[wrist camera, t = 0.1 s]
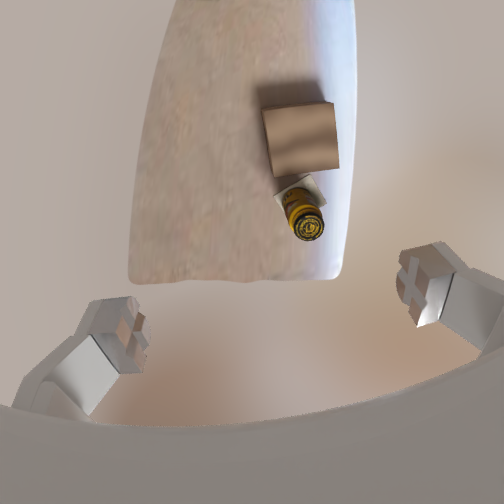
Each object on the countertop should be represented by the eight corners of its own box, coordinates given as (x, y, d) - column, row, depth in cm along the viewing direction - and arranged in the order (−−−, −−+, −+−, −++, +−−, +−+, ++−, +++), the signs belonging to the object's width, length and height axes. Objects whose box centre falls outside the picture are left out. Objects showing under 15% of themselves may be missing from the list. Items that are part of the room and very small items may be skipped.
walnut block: (260, 108, 49) (263, 111, 45) (325, 101, 48) (333, 103, 44) (271, 169, 55) (274, 177, 51) (331, 161, 55) (339, 168, 51)
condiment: (273, 196, 58) (282, 223, 48) (309, 173, 56) (327, 196, 46) (291, 223, 61) (303, 254, 51) (326, 202, 59) (345, 230, 49)
